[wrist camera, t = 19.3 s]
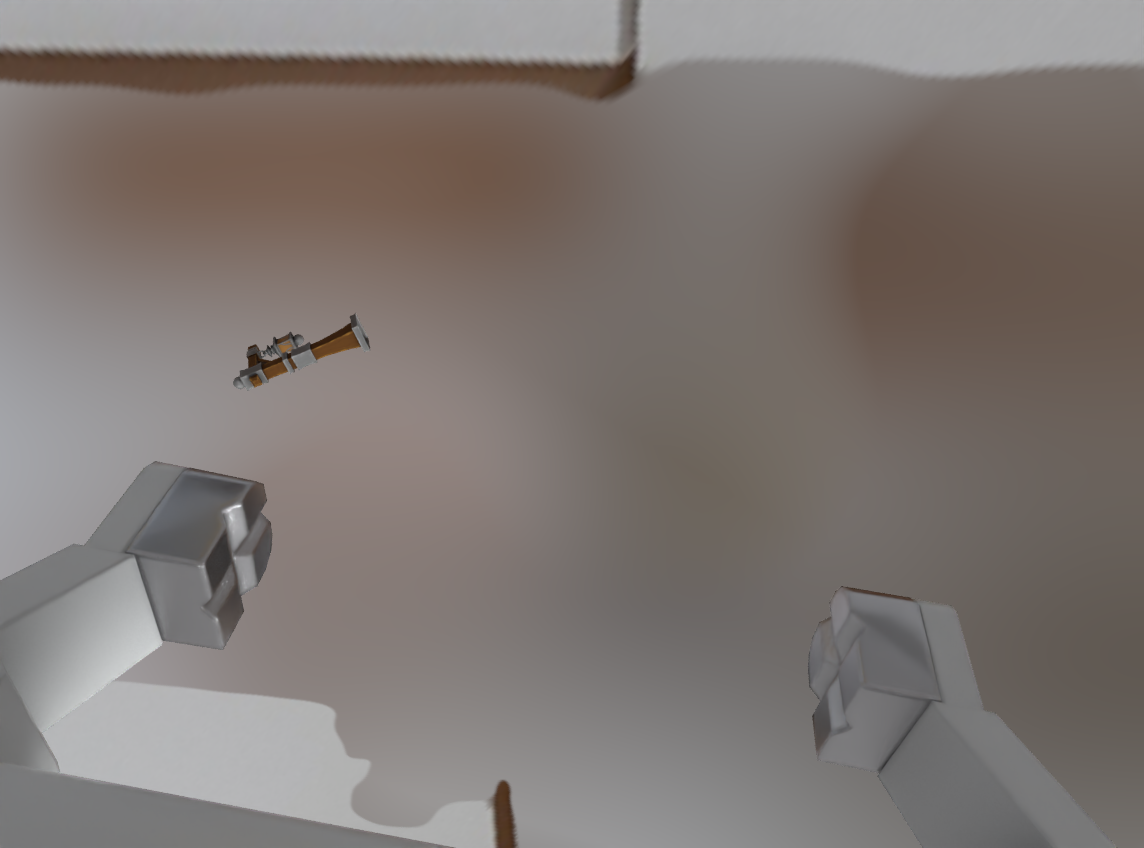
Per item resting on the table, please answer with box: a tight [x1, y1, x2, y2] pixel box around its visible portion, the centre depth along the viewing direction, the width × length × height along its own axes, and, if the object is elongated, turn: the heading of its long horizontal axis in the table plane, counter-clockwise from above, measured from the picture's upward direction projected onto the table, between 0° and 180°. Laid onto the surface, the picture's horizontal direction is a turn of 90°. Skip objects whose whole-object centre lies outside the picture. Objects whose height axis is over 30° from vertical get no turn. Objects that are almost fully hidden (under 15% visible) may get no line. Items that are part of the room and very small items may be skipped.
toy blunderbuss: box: [233, 313, 370, 391], centre depth 51 cm, size 2×8×4 cm, turn 106°
